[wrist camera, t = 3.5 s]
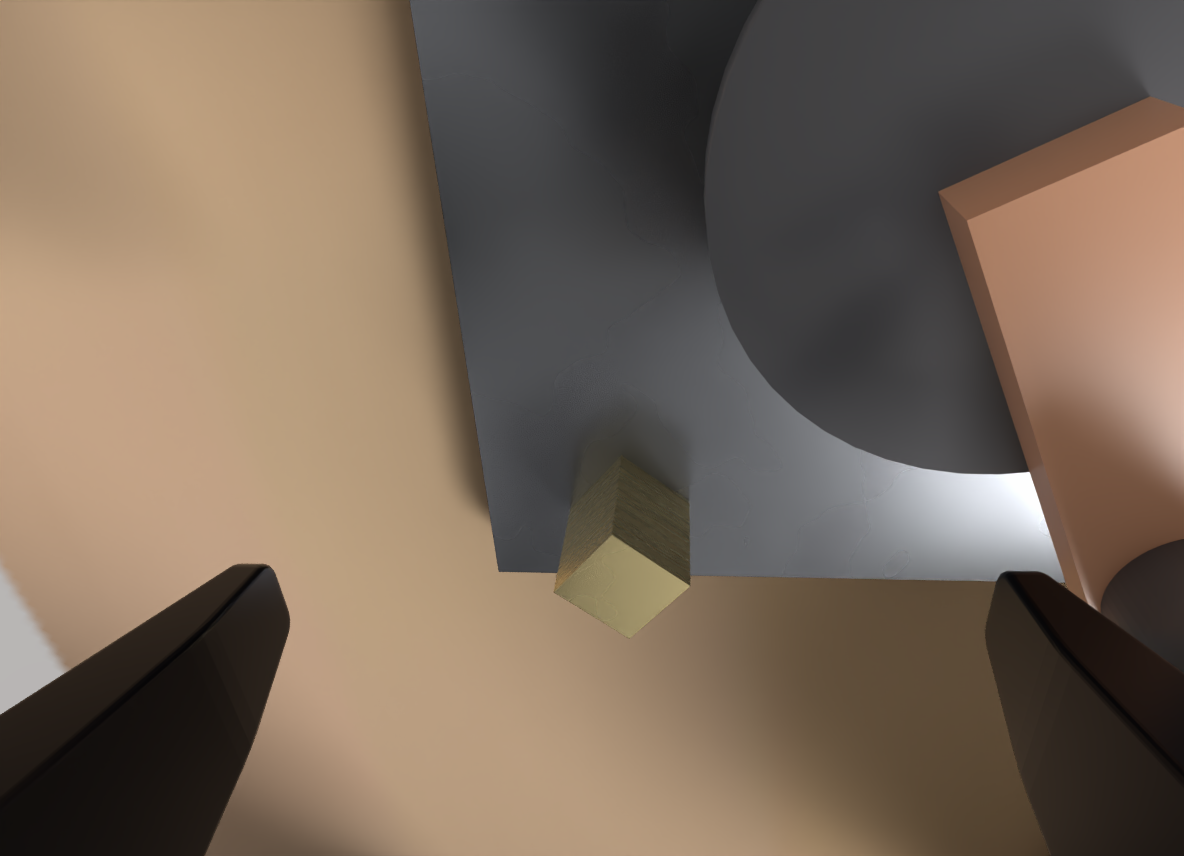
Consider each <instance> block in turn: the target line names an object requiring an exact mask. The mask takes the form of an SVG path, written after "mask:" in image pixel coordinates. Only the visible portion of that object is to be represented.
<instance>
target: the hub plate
mask: <svg viewBox="0 0 1184 856" xmlns="http://www.w3.org/2000/svg"><path fill="white" fill-rule="evenodd" d="M757 1H758V0H410V6H411V13H412V19H413V25H414V32H415V38H416V45H417V51H418V57H419V64H420V70H421V77H422V83H423V90H424V96H425V102H426V109H427V115H428V122H429V128H430V134H431V141H432V147H433V154H434V160H435V166H436V173H437V179H438V186H439V192H440V199H441V205H442V211H443V218H444V224H445V231H446V237H447V243H448V250H449V256H450V263H451V269H452V275H453V282H454V288H455V295H456V301H457V308H458V314H459V320H460V327H461V333H462V340H463V346H464V352H465V359H466V365H467V372H468V378H469V384H470V391H471V397H472V404H473V410H474V417H475V423H476V429H477V436H478V442H479V449H480V455H481V461H482V468H483V474H484V481H485V487H486V493H487V500H488V506H489V513H490V519H491V526H492V532H493V538H494V545H495V551H496V558H497V564H498V570H499V572H541V573H557V578H556V583H555V588H554V593H556V594H557V595H559V596H561V597H562V598H564V599H566V600H567V601H569V602H570V603H572V604H574V605H575V606H577V607H579V608H580V609H582V610H583V611H585V612H587V613H588V614H590V615H592V616H593V617H595V618H596V619H598V620H600V621H601V622H603V623H605V624H606V625H608V626H609V627H611V628H613V629H614V630H616V631H618V632H619V633H621V634H622V635H624V636H626V637H627V638H629V639H630V638H631V637H632V636H633V635H635V634H636V633H637V632H638V631H639V630H640V629H641V628H643V627H644V626H645V625H646V624H647V623H648V622H650V621H651V620H652V619H653V618H654V617H655V616H656V615H658V614H659V613H660V612H661V611H662V610H663V609H664V608H666V607H667V606H668V605H669V604H670V603H671V602H673V601H674V600H675V599H676V598H677V597H678V596H679V595H681V594H682V593H683V592H684V591H685V590H686V589H687V588H689V587H690V575H695V576H747V577H798V578H850V579H901V580H953V581H997V579H998V577H999V576H1000V574H1001V573H1003V572H1005V571H1040V572H1043V573H1045V574H1047V575H1048V576H1050V577H1051V578H1053V579H1054V580H1055V581H1057V582H1058V583H1066V582H1065V579H1064V576H1063V573H1062V570H1061V567H1060V564H1059V561H1058V558H1057V554H1056V551H1055V548H1054V545H1053V542H1052V539H1051V536H1050V533H1049V530H1048V527H1047V524H1046V521H1045V518H1044V515H1043V512H1042V509H1041V506H1040V502H1039V499H1038V496H1037V493H1036V490H1035V487H1034V484H1033V481H1032V478H1031V475H1030V472H1025V473H1012V474H1000V475H995V474H959V473H951V472H944V471H936V470H928V469H922V468H918V467H914V466H910V465H906V464H902V463H898V462H894V461H890V460H887V459H884V458H881V457H879V456H876V455H873V454H871V453H868V452H866V451H863V450H860V449H858V448H855V447H853V446H851V445H849V444H848V443H846V442H844V441H842V440H840V439H838V438H836V437H835V436H833V435H831V434H829V433H827V432H825V431H824V430H822V429H821V428H819V427H818V426H817V425H815V424H814V423H812V422H811V421H810V420H808V419H807V418H805V417H804V416H803V415H801V414H800V413H799V412H797V411H796V410H795V409H794V408H793V407H792V406H791V405H790V404H789V403H788V402H786V401H785V400H784V399H783V398H782V397H781V396H780V395H779V394H778V393H777V392H776V391H775V390H774V389H773V388H772V387H771V386H770V385H769V383H768V382H767V381H766V380H765V378H764V377H763V376H762V375H761V373H760V372H759V371H758V369H757V368H756V367H755V366H754V364H753V363H752V362H751V361H750V359H749V357H748V356H747V354H746V352H745V350H744V349H743V347H742V345H741V343H740V342H739V340H738V338H737V337H736V335H735V333H734V331H733V330H732V327H731V325H730V322H729V320H728V317H727V315H726V312H725V310H724V307H723V305H722V302H721V300H720V297H719V295H718V291H717V287H716V283H715V278H714V274H713V270H712V266H711V262H710V258H709V249H708V239H707V228H706V218H705V206H704V174H705V153H706V147H707V141H708V135H709V129H710V123H711V116H712V111H713V108H714V105H715V101H716V98H717V94H718V91H719V87H720V84H721V81H722V77H723V74H724V70H725V68H726V65H727V63H728V61H729V58H730V56H731V54H732V51H733V49H734V47H735V44H736V42H737V39H738V37H739V35H740V32H741V30H742V28H743V25H744V23H745V22H746V20H747V18H748V16H749V15H750V13H751V11H752V9H753V8H754V6H755V4H756V2H757Z"/></svg>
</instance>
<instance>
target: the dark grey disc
mask: <svg viewBox="0 0 1184 856" xmlns="http://www.w3.org/2000/svg"><path fill="white" fill-rule="evenodd" d="M704 206H705V218H706V228H707V239H708V249H709V258H710V262H711V266H712V270H713V274H714V278H715V283H716V287H717V291H718V295H719V297H720V300H721V302H722V305H723V307H724V310H725V312H726V315H727V317H728V320H729V322H730V325H731V327H732V330H733V331H734V333H735V335H736V337H737V338H738V340H739V342H740V343H741V345H742V347H743V349H744V350H745V352H746V354H747V356H748V357H749V359H750V361H751V362H752V363H753V364H754V366H755V367H756V368H757V369H758V371H759V372H760V373H761V375H762V376H763V377H764V378H765V380H766V381H767V382H768V383H769V385H770V386H771V387H772V388H773V389H774V390H775V391H776V392H777V393H778V394H779V395H780V396H781V397H782V398H783V399H784V400H785V401H786V402H788V403H789V404H790V405H791V406H792V407H793V408H794V409H795V410H796V411H797V412H799V413H800V414H801V415H803V416H804V417H805V418H807V419H808V420H810V421H811V422H812V423H814V424H815V425H817V426H818V427H819V428H821V429H822V430H824V431H825V432H827V433H829V434H831V435H833V436H835V437H836V438H838V439H840V440H842V441H844V442H846V443H848V444H849V445H851V446H853V447H855V448H858V449H860V450H863V451H866V452H868V453H871V454H873V455H876V456H879V457H881V458H884V459H887V460H890V461H894V462H898V463H902V464H906V465H910V466H914V467H918V468H922V469H928V470H936V471H944V472H951V473H959V474H995V475H1000V474H1012V473H1025V472H1030V475H1031V478H1032V481H1033V484H1034V487H1035V490H1036V493H1037V496H1038V499H1039V502H1040V506H1041V509H1042V512H1043V515H1044V518H1045V521H1046V524H1047V527H1048V530H1049V533H1050V536H1051V539H1052V542H1053V545H1054V548H1055V551H1056V554H1057V558H1058V561H1059V564H1060V567H1061V570H1062V573H1063V576H1064V579H1065V582H1066V585H1067V588H1068V590H1069V591H1071V592H1072V593H1074V594H1075V595H1076V596H1078V597H1079V598H1080V599H1082V600H1083V601H1085V602H1086V603H1087V604H1089V605H1090V606H1092V607H1093V608H1094V609H1096V610H1097V611H1099V612H1100V613H1101V614H1103V615H1104V616H1106V617H1107V618H1108V619H1110V620H1111V621H1112V622H1114V623H1115V624H1117V625H1118V626H1119V627H1121V628H1122V629H1124V630H1125V631H1126V632H1128V633H1129V634H1131V635H1132V636H1133V637H1135V638H1136V639H1137V640H1139V641H1140V642H1142V643H1143V644H1144V645H1146V646H1147V647H1149V648H1150V649H1151V650H1153V651H1154V652H1156V653H1157V654H1158V655H1160V656H1161V657H1162V658H1164V659H1165V660H1167V661H1168V662H1169V663H1171V664H1172V665H1174V666H1175V667H1176V668H1178V669H1179V670H1181V671H1182V672H1183V673H1184V0H758V1H757V2H756V4H755V6H754V8H753V9H752V11H751V13H750V15H749V16H748V18H747V20H746V22H745V23H744V25H743V28H742V30H741V32H740V35H739V37H738V39H737V42H736V44H735V47H734V49H733V51H732V54H731V56H730V58H729V61H728V63H727V65H726V68H725V70H724V74H723V77H722V81H721V84H720V87H719V91H718V94H717V98H716V101H715V105H714V108H713V111H712V116H711V123H710V129H709V135H708V141H707V147H706V153H705V174H704Z"/></svg>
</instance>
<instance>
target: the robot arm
mask: <svg viewBox="0 0 1184 856" xmlns="http://www.w3.org/2000/svg"><path fill="white" fill-rule="evenodd" d="M289 628H290V616H289V611H288V608H287V605H286V602H285V600H284V597H283V594H282V591H281V588H280V585H279V583H278V580H277V577H276V574H275V572H274V570H273V569H272V568H271V567H270V566H269V565H266V564H236V565H233V566H232V567H230V568H228V569H227V570H225V571H223V572H222V573H220V574H219V575H217V576H216V577H214V578H213V579H211V580H209V581H208V582H206V583H205V584H203V585H202V586H200V587H199V588H197V589H195V590H194V591H192V592H191V593H189V594H188V595H186V596H185V597H183V598H181V599H180V600H178V601H177V602H175V603H174V604H172V605H171V606H169V607H167V608H166V609H164V610H163V611H161V612H160V613H158V614H157V615H155V616H153V617H152V618H150V619H149V620H147V621H146V622H144V623H143V624H141V625H139V626H138V627H136V628H135V629H133V630H132V631H130V632H128V633H127V634H125V635H124V636H122V637H121V638H119V639H118V640H116V641H114V642H113V643H111V644H110V645H108V646H107V647H105V648H104V649H102V650H100V651H99V652H97V653H96V654H94V655H93V656H91V657H90V658H88V659H86V660H85V661H83V662H82V663H80V664H79V665H77V666H76V667H74V668H72V669H71V670H69V671H68V672H66V673H65V674H63V675H61V676H60V677H58V678H57V679H55V680H54V681H52V682H51V683H49V684H48V685H46V686H44V687H43V688H41V689H40V690H38V691H37V692H35V693H33V694H32V695H30V696H29V697H27V698H26V699H24V700H23V701H21V702H20V703H18V704H16V705H15V706H13V707H12V708H10V709H8V710H7V711H6V712H4V713H2V714H1V715H0V856H205V854H206V851H207V849H208V847H209V844H210V842H211V840H212V838H213V835H214V833H215V831H216V829H217V826H218V824H219V822H220V819H221V817H222V815H223V813H224V810H225V808H226V806H227V803H228V801H229V799H230V797H231V794H232V792H233V790H234V788H235V785H236V783H237V781H238V778H239V776H240V774H241V772H242V769H243V767H244V765H245V762H246V760H247V757H248V755H249V752H250V750H251V748H252V745H253V742H254V739H255V736H256V734H257V731H258V728H259V725H260V722H261V718H262V715H263V712H264V709H265V706H266V703H267V700H268V696H269V693H270V690H271V687H272V684H273V681H274V678H275V674H276V671H277V668H278V665H279V662H280V659H281V656H282V652H283V649H284V646H285V643H286V640H287V637H288V633H289ZM985 638H986V645H987V650H988V654H989V658H990V661H991V665H992V669H993V673H994V677H995V681H996V685H997V689H998V693H999V697H1000V700H1001V704H1002V708H1003V712H1004V716H1005V720H1006V724H1007V728H1008V732H1009V736H1010V739H1011V743H1012V747H1013V751H1014V755H1015V758H1016V762H1017V766H1018V769H1019V773H1020V776H1021V779H1022V782H1023V784H1024V787H1025V790H1026V793H1027V796H1028V799H1029V801H1030V804H1031V806H1032V809H1033V812H1034V814H1035V817H1036V819H1037V822H1038V825H1039V827H1040V830H1041V833H1042V835H1043V838H1044V840H1045V843H1046V846H1047V848H1048V851H1049V853H1050V856H1184V673H1183V672H1182V671H1181V670H1179V669H1178V668H1176V667H1175V666H1174V665H1172V664H1171V663H1169V662H1168V661H1167V660H1165V659H1164V658H1162V657H1161V656H1160V655H1158V654H1157V653H1156V652H1154V651H1153V650H1151V649H1150V648H1149V647H1147V646H1146V645H1144V644H1143V643H1142V642H1140V641H1139V640H1137V639H1136V638H1135V637H1133V636H1132V635H1131V634H1129V633H1128V632H1126V631H1125V630H1124V629H1122V628H1121V627H1119V626H1118V625H1117V624H1115V623H1114V622H1112V621H1111V620H1110V619H1108V618H1107V617H1106V616H1104V615H1103V614H1101V613H1100V612H1099V611H1097V610H1096V609H1094V608H1093V607H1092V606H1090V605H1089V604H1087V603H1086V602H1085V601H1083V600H1082V599H1080V598H1079V597H1078V596H1076V595H1075V594H1074V593H1072V592H1071V591H1069V590H1068V589H1067V588H1065V587H1064V586H1062V585H1061V584H1060V583H1058V582H1057V581H1055V580H1054V579H1053V578H1051V577H1050V576H1048V575H1047V574H1045V573H1043V572H1040V571H1005V572H1003V573H1001V574H1000V576H999V577H998V579H997V582H996V586H995V590H994V594H993V598H992V602H991V606H990V610H989V614H988V618H987V622H986V629H985Z"/></svg>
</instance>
